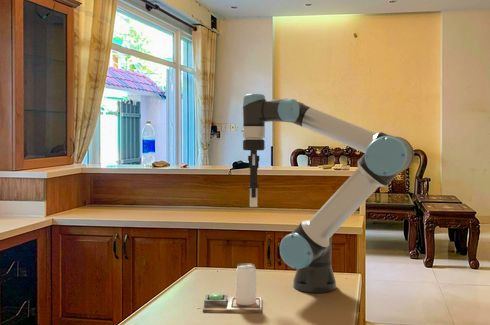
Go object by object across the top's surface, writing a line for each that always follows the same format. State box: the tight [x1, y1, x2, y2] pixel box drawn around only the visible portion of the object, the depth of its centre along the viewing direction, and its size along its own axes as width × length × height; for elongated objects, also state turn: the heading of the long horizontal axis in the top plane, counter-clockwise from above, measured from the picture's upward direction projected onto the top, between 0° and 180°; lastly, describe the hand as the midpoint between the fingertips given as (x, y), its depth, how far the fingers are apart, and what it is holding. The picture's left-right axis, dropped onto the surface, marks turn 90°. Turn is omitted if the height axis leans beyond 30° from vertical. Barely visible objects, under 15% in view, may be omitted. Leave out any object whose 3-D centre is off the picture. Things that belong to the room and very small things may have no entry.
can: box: [235, 262, 257, 306], centre depth 162 cm, size 6×6×12 cm
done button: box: [209, 292, 224, 300], centre depth 162 cm, size 4×4×2 cm
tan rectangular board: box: [202, 293, 263, 314], centre depth 162 cm, size 18×13×3 cm
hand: (253, 206), depth 178 cm, fingers closed
